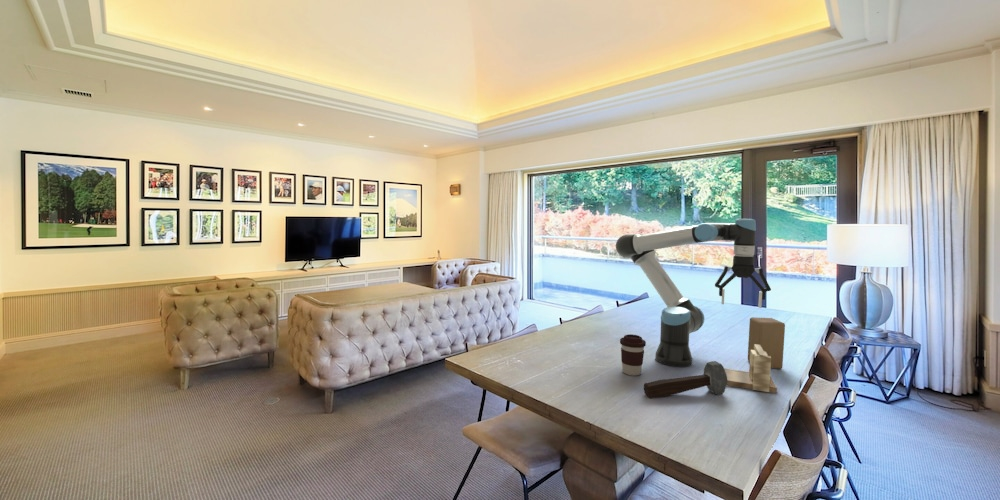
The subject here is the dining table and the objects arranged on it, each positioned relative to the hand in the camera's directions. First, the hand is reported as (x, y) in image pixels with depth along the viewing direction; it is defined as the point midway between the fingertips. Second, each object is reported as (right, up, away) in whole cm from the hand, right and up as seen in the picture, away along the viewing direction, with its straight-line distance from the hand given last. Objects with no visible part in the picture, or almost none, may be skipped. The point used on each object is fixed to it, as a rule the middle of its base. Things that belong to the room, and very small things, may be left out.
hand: (740, 305), depth 170 cm
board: (-8, -28, -14) cm, 32 cm away
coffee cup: (-48, -27, -6) cm, 56 cm away
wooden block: (+13, -27, +5) cm, 30 cm away
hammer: (-36, -29, -26) cm, 53 cm away
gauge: (-4, -27, -17) cm, 33 cm away
